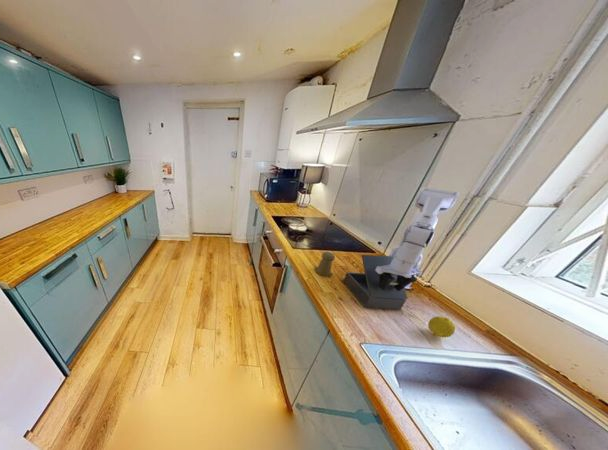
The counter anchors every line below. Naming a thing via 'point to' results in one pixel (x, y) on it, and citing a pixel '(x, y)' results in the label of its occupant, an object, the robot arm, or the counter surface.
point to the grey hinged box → (360, 290)
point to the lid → (373, 279)
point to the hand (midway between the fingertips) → (389, 288)
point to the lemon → (441, 326)
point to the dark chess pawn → (325, 264)
